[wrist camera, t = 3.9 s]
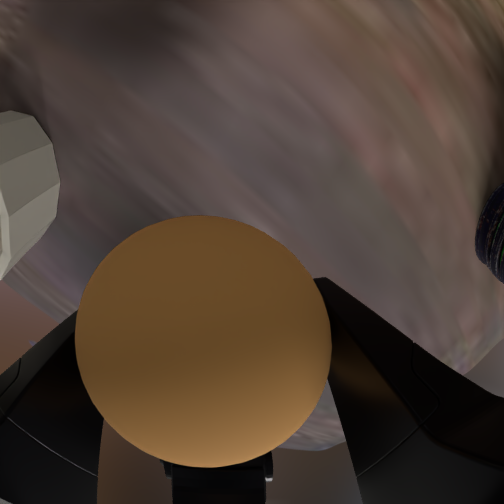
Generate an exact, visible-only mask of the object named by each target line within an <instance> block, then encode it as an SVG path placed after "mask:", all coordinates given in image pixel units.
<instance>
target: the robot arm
mask: <svg viewBox="0 0 504 504" xmlns="http://www.w3.org/2000/svg"><path fill="white" fill-rule="evenodd" d="M313 280H314V282H315V284H316V286H317V288H318V290H319V292H320V294H321V296H322V298H323V301H324V304H325V307H326V310H327V314H328V317H329V321H330V329H331V341H332V352H331V361H330V369H329V373H328V377H327V379H328V382H329V385H330V388H331V392H332V395H333V398H334V401H335V405H336V408H337V411H338V415H339V418H340V421H341V425H342V428H343V431H344V435H345V438H346V442H347V445H348V449H349V452H350V456H351V460H352V463H353V467H354V471H355V474H356V476H357V482H358V486H359V490H360V494H361V497H362V502H363V504H504V398H503V397H499V396H496V395H494V394H492V393H490V392H488V391H486V390H485V389H483V388H482V387H480V386H478V385H477V384H475V383H474V382H472V381H470V380H469V379H467V378H466V377H464V376H462V375H461V374H459V373H458V372H456V371H455V370H453V369H451V368H450V367H448V366H447V365H445V364H444V363H442V362H441V361H439V360H438V359H437V358H435V357H434V356H432V355H431V354H430V353H428V352H427V351H426V350H424V349H423V348H422V347H420V346H419V345H418V344H416V343H413V341H412V340H411V339H410V338H408V337H407V336H406V335H404V334H403V333H402V332H400V331H399V330H398V329H396V328H395V327H394V326H392V325H391V324H390V323H388V322H387V321H386V320H384V319H383V318H382V317H380V316H379V315H378V314H376V313H375V312H374V311H372V310H371V309H370V308H368V307H367V306H365V305H364V304H363V303H361V302H360V301H359V300H357V299H356V298H355V297H353V296H352V295H350V294H349V293H348V292H346V291H345V290H344V289H342V288H341V287H339V286H338V285H337V284H335V283H334V282H332V281H331V280H330V279H328V278H326V277H322V278H314V279H313ZM77 312H78V310H77V311H76V312H74V313H73V314H72V315H70V316H69V317H68V318H67V319H65V320H64V321H63V322H62V323H61V324H59V325H58V326H57V327H56V328H54V329H53V330H52V331H51V332H50V333H48V334H47V335H46V336H45V337H44V338H43V339H41V340H40V341H39V342H38V343H36V344H35V345H34V346H33V347H32V348H31V349H30V350H28V351H27V352H26V353H25V354H24V355H23V356H22V358H19V359H18V360H17V361H16V362H15V363H14V364H13V365H11V366H10V367H9V368H8V369H7V370H6V371H4V372H3V373H2V374H1V375H0V504H97V482H98V477H97V476H98V464H99V454H100V443H101V435H102V428H103V420H104V417H103V416H102V415H101V413H100V412H99V411H98V409H97V408H96V406H95V405H94V404H93V402H92V400H91V398H90V396H89V394H88V392H87V390H86V388H85V385H84V383H83V381H82V378H81V374H80V371H79V367H78V363H77V357H76V348H75V328H76V318H77ZM160 463H161V464H162V465H163V466H164V469H165V474H166V477H167V478H168V479H172V497H173V504H265V502H266V482H271V481H272V477H273V460H272V453H271V451H269V452H267V453H265V454H263V455H261V456H259V457H256V458H254V459H251V460H249V461H246V462H243V463H238V464H233V465H228V466H222V467H192V466H185V465H180V464H175V463H171V462H168V461H165V460H162V459H160Z"/></svg>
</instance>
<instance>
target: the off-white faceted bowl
mask: <svg viewBox="0 0 504 504" xmlns="http://www.w3.org/2000/svg"><path fill="white" fill-rule="evenodd" d="M59 189H60V177H59V173H58V168H57V164H56V159H55V155H54V149H53V144H52V142H51V140H50V139H49V138H48V136H47V135H46V133H45V132H44V131H43V129H42V128H41V126H40V125H39V123H38V122H37V121H36V119H35V118H34V116H31V115H27V114H23V113H19V112H15V111H6V112H2V113H0V280H1V279H2V278H3V277H4V276H5V275H6V274H7V272H8V271H9V270H10V269H11V268H12V267H13V266H14V265H15V264H16V263H17V262H18V260H19V259H20V258H21V257H22V256H23V255H24V254H25V253H26V252H27V251H28V250H29V249H30V248H31V247H32V246H33V245H34V244H35V243H36V242H37V241H38V240H39V239H40V238H41V237H42V236H43V234H44V233H45V232H46V230H47V229H48V227H49V226H50V225H51V223H52V222H53V220H54V219H55V218H56V213H57V204H58V196H59Z"/></svg>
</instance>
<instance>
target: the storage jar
mask: <svg viewBox="0 0 504 504" xmlns="http://www.w3.org/2000/svg"><path fill="white" fill-rule="evenodd" d="M475 251H476V254H477V257H478V258H479V260H480V261H481V262H482V263H484V264H486V265H487V267H488V268H489V269H490V270H491V272H492V273H493V275H494V276H495V277H496V278H497V279H498V280H499V281H501V282H503V284H504V183H503V184H501V185H500V186H499V187H498V188H497V189H496V190H495V191H494V192H493V193H492V195H491V196H490V198H489V199H488V201H487V203H486V205H485V207H484V209H483V211H482V214H481V217H480V219H479V223H478V226H477V231H476V237H475Z"/></svg>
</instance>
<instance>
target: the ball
mask: <svg viewBox="0 0 504 504" xmlns="http://www.w3.org/2000/svg"><path fill="white" fill-rule="evenodd" d="M75 348H76V357H77V363H78V367H79V371H80V374H81V378H82V381H83V383H84V385H85V388H86V390H87V392H88V394H89V396H90V398H91V400H92V402H93V404H94V405H95V406H96V408H97V409H98V411H99V412H100V413H101V415H102V416H103V417H104V419H105V420H106V421H107V422H108V423H109V424H110V425H111V426H112V427H113V428H114V429H115V430H116V431H117V432H118V433H119V434H120V435H121V436H122V437H123V438H124V439H126V440H127V441H129V442H130V443H132V444H133V445H135V446H136V447H138V448H139V449H141V450H143V451H144V452H146V453H148V454H150V455H153V456H155V457H158V458H160V459H162V460H165V461H168V462H171V463H175V464H180V465H185V466H192V467H222V466H228V465H233V464H238V463H243V462H246V461H249V460H251V459H254V458H256V457H259V456H261V455H263V454H265V453H267V452H269V451H271V450H272V449H274V448H275V447H277V446H278V445H280V444H282V443H283V442H285V441H286V440H287V439H288V438H289V437H290V436H291V435H292V434H293V433H294V432H296V431H297V430H298V429H299V428H300V427H301V426H302V424H303V423H304V422H305V420H306V419H307V418H308V416H309V415H310V414H311V412H312V411H313V409H314V408H315V406H316V404H317V402H318V400H319V398H320V396H321V394H322V392H323V389H324V387H325V384H326V380H327V377H328V373H329V369H330V361H331V352H332V341H331V329H330V321H329V317H328V314H327V310H326V307H325V304H324V301H323V298H322V296H321V294H320V292H319V290H318V288H317V286H316V284H315V282H314V280H313V279H312V277H311V275H310V274H309V272H308V271H307V270H306V269H305V267H304V266H303V265H302V264H301V263H300V261H299V260H298V259H297V258H296V257H295V255H294V254H292V253H291V252H290V251H289V250H288V249H287V248H286V247H285V246H284V245H282V244H281V243H279V242H278V241H276V240H275V239H273V238H272V237H270V236H269V235H267V234H266V233H264V232H262V231H260V230H258V229H256V228H254V227H252V226H250V225H247V224H244V223H242V222H239V221H236V220H232V219H227V218H222V217H216V216H203V215H197V216H182V217H177V218H172V219H167V220H164V221H161V222H158V223H155V224H152V225H150V226H147V227H145V228H143V229H141V230H139V231H137V232H135V233H133V234H132V235H131V236H129V237H128V238H127V239H125V240H124V241H123V242H121V243H120V244H119V245H117V246H116V247H115V248H113V250H112V251H111V252H110V253H109V254H108V255H107V256H106V257H105V258H104V259H103V261H102V262H101V263H100V264H99V265H98V267H97V268H96V270H95V271H94V273H93V275H92V276H91V278H90V280H89V282H88V284H87V286H86V288H85V290H84V292H83V295H82V298H81V302H80V305H79V309H78V312H77V318H76V328H75Z"/></svg>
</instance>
